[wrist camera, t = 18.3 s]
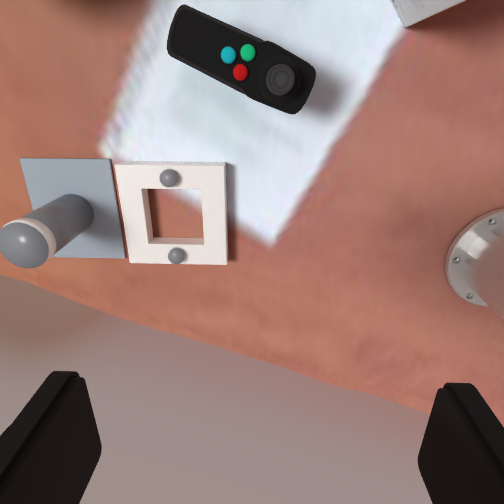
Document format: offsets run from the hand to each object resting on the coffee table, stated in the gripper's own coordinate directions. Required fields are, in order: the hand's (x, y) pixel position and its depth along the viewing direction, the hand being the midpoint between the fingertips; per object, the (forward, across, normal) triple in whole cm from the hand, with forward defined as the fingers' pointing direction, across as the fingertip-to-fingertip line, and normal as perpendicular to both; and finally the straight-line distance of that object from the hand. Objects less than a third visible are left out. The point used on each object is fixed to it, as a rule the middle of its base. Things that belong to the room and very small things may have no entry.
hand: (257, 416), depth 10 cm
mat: (+32, +22, +5) cm, 39 cm away
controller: (+32, +2, -10) cm, 34 cm away
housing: (+32, +10, +5) cm, 34 cm away
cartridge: (+32, +22, +5) cm, 39 cm away
